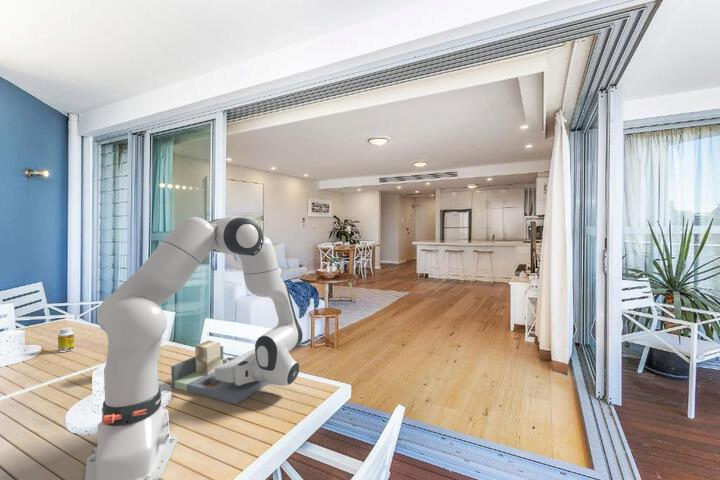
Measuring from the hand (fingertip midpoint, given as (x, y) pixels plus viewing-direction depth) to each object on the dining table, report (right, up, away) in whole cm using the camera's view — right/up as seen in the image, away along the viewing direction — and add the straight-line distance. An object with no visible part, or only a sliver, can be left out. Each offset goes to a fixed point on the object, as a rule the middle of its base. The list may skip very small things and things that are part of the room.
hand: (225, 360), depth 122 cm
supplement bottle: (-86, -7, +33) cm, 93 cm away
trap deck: (+1, -8, 0) cm, 8 cm away
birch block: (-8, -5, +4) cm, 10 cm away
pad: (-9, -8, +4) cm, 12 cm away
